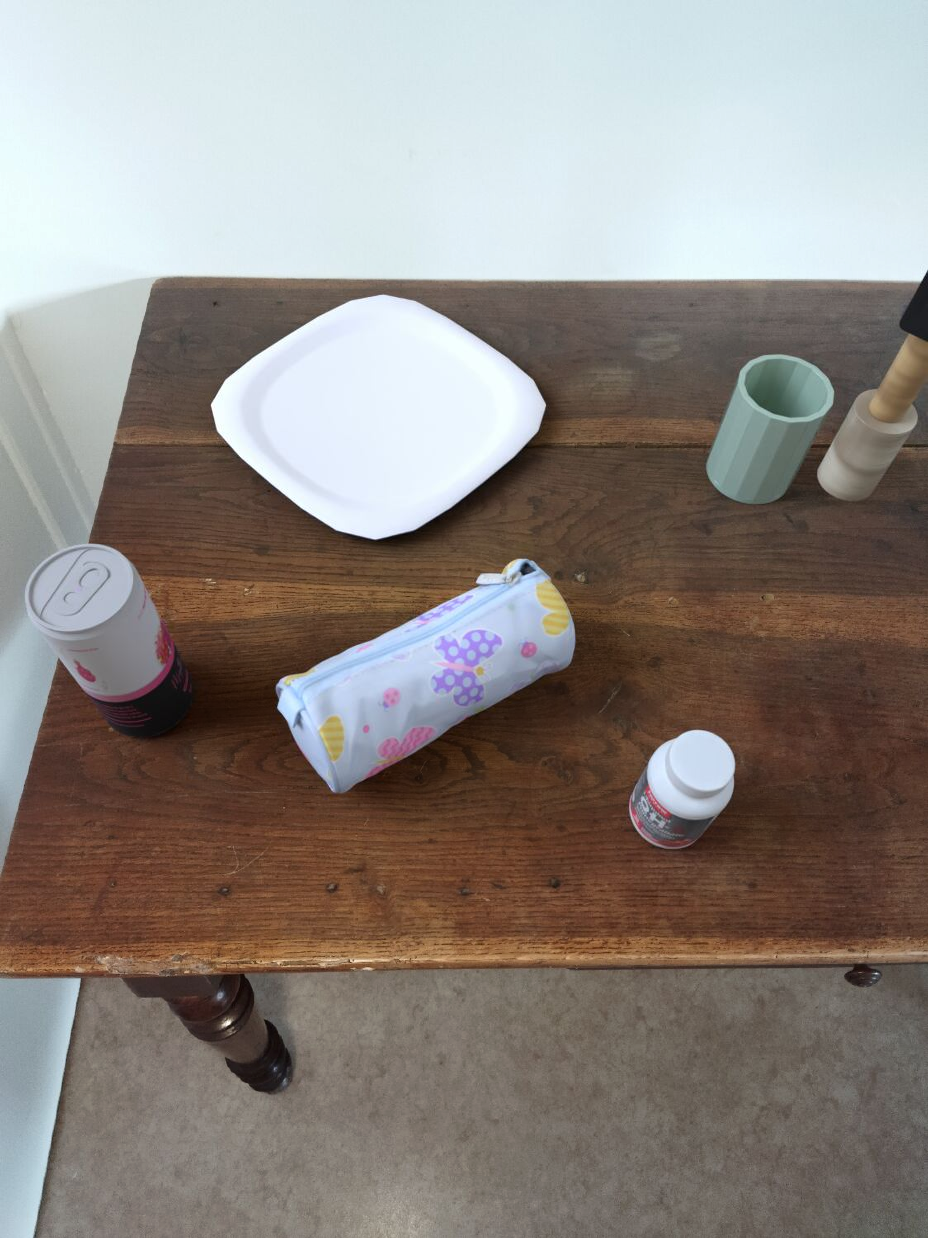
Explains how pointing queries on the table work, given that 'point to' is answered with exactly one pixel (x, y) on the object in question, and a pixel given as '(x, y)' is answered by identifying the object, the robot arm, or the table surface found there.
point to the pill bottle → (683, 789)
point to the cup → (768, 428)
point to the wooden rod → (876, 427)
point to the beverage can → (110, 638)
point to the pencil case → (427, 674)
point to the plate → (378, 415)
